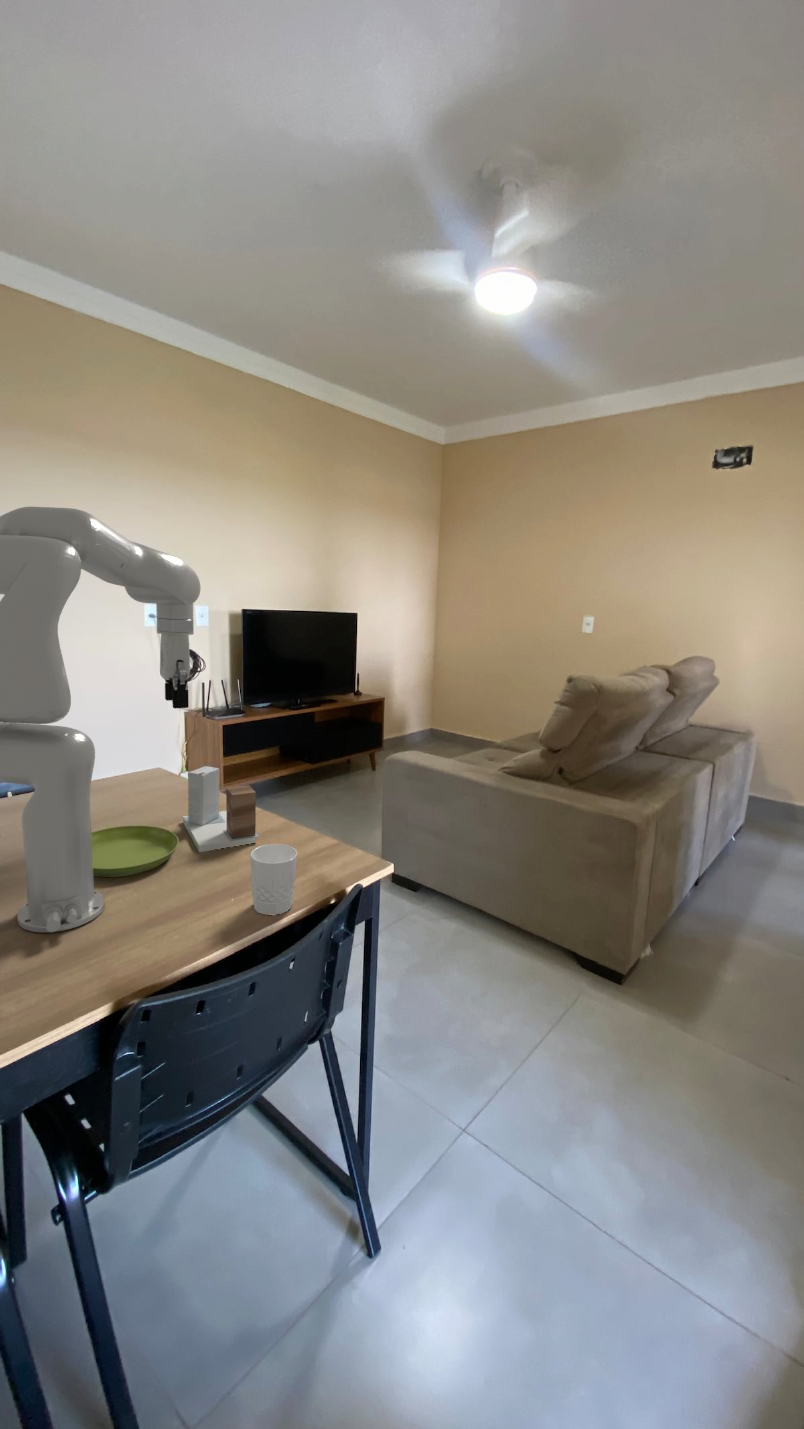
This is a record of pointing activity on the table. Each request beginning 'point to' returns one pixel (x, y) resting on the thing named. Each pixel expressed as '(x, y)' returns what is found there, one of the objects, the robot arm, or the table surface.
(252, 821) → the block
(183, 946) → the table surface
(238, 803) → the block
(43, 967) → the table surface
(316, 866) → the table surface
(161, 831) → the green plate
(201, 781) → the skincare box
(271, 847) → the white cup
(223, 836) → the build board
